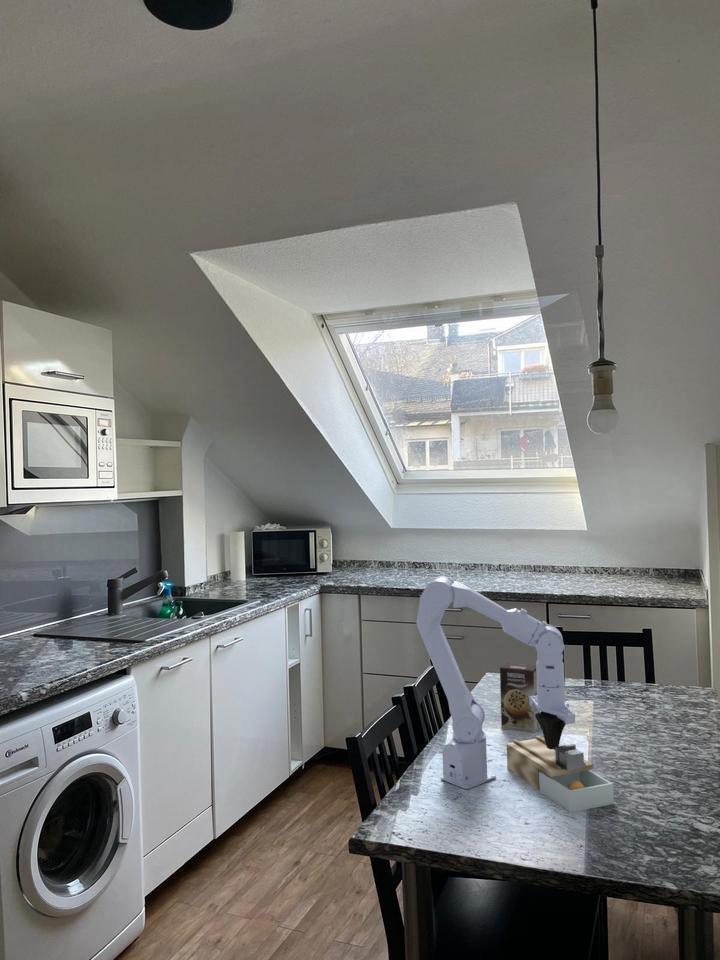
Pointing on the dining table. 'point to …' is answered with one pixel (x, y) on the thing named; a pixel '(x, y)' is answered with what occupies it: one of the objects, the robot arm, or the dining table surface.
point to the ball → (575, 785)
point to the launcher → (535, 760)
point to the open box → (577, 790)
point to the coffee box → (518, 697)
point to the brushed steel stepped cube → (569, 757)
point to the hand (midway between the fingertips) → (552, 747)
